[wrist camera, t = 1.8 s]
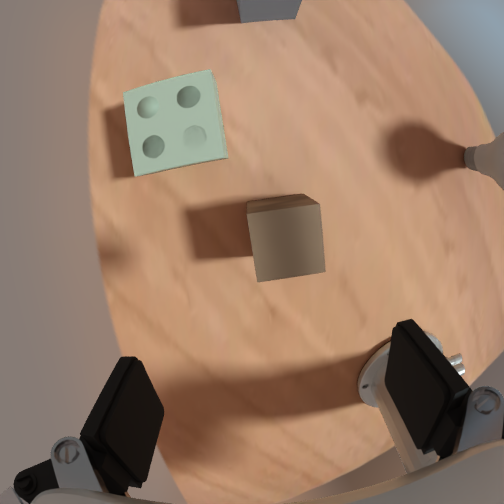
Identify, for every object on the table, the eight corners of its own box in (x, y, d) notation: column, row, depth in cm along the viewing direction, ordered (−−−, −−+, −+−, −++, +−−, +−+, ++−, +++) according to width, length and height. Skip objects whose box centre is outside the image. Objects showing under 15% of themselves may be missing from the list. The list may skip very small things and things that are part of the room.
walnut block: (303, 193, 25) (319, 204, 19) (309, 247, 26) (325, 271, 20) (247, 201, 25) (246, 214, 19) (255, 255, 26) (257, 282, 21)
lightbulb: (455, 191, 24) (529, 213, 14) (441, 136, 22) (519, 137, 12) (487, 177, 24) (556, 193, 13) (475, 126, 22) (546, 126, 11)
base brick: (216, 82, 21) (210, 69, 18) (228, 158, 23) (224, 157, 20) (140, 101, 22) (123, 92, 18) (151, 173, 24) (134, 176, 20)
